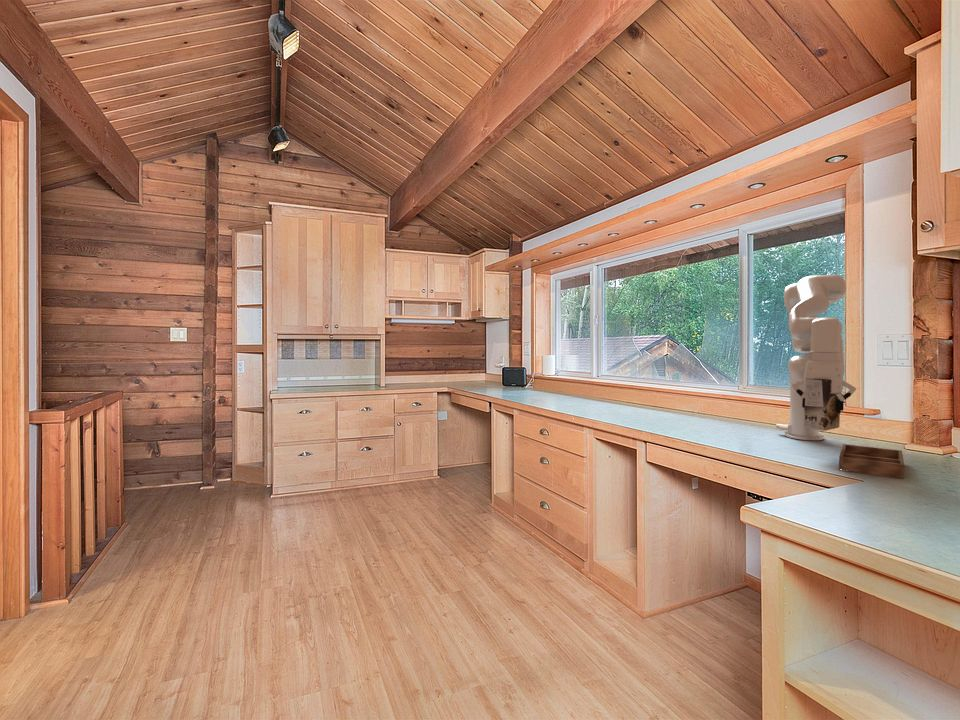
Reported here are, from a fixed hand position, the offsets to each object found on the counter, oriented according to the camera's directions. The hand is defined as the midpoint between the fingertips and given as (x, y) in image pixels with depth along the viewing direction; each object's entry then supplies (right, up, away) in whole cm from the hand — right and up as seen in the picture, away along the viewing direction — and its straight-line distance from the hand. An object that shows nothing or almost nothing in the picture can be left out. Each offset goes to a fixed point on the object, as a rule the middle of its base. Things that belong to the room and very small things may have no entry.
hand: (822, 411), depth 158 cm
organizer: (+8, -16, -9) cm, 20 cm away
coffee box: (0, -6, +1) cm, 6 cm away
